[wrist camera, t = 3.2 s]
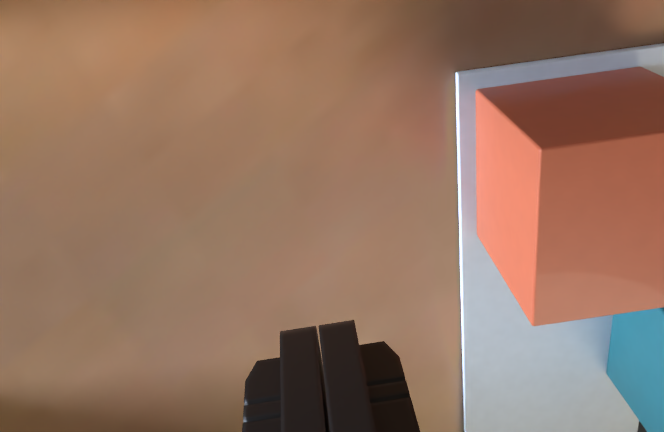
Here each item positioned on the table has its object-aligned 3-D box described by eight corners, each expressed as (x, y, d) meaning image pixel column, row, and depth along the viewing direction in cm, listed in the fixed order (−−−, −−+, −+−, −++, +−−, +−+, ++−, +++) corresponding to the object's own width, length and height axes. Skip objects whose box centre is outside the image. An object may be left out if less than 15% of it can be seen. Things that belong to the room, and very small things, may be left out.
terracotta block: (474, 88, 18) (539, 148, 14) (640, 65, 18) (759, 118, 14) (476, 235, 20) (531, 327, 16) (623, 214, 20) (720, 300, 16)
